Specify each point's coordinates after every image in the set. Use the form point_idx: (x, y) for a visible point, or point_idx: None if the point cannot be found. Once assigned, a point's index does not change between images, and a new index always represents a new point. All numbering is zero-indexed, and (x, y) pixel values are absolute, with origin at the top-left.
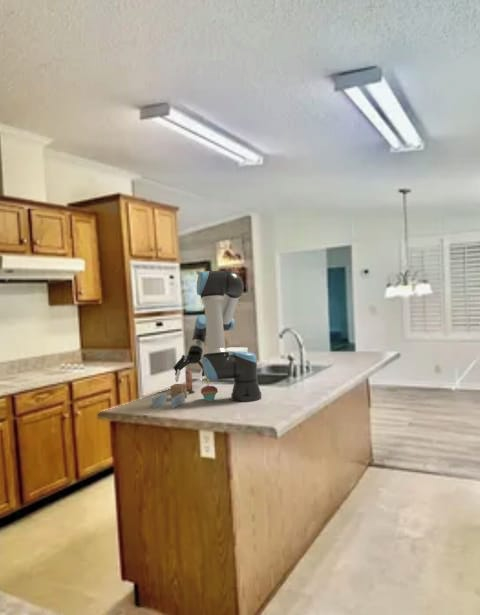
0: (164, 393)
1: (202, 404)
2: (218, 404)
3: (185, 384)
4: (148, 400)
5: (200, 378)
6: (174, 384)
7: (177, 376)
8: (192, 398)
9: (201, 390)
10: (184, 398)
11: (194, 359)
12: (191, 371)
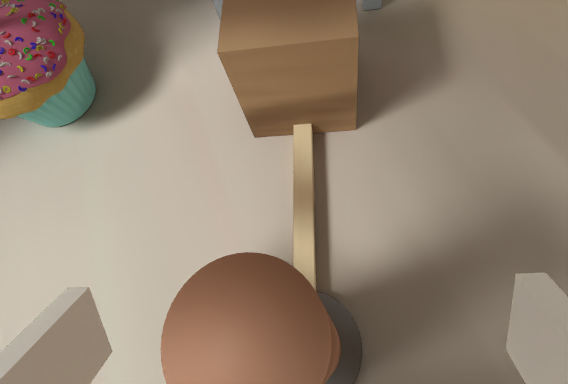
0: None
1: (96, 2)
2: None
3: (219, 38)
4: (542, 4)
5: (58, 305)
6: (351, 9)
7: (556, 347)
8: (197, 117)
9: (60, 5)
10: (216, 5)
11: None
12: (166, 353)
